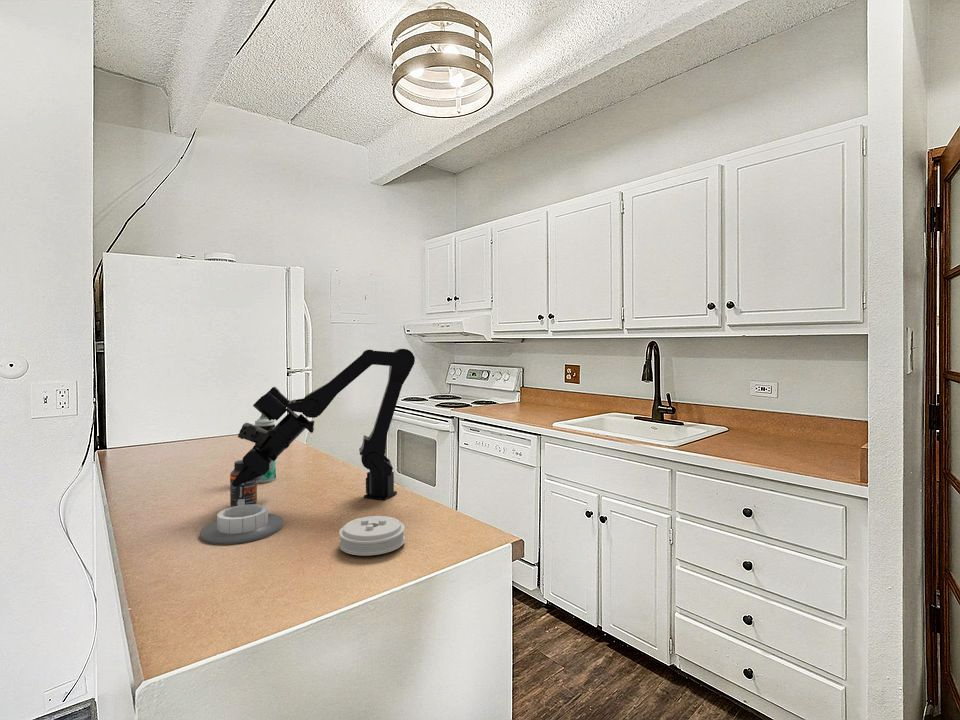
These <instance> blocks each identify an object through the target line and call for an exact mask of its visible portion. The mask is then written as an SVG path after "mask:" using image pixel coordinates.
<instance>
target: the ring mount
mask: <svg viewBox="0 0 960 720" xmlns="http://www.w3.org/2000/svg"><path fill="white" fill-rule="evenodd" d="M283 527H284V519H283V517H282V516H281V515H278V514H274V513H269V508H268V507H267V506H266V505H264V504H259V503H257V504H248V505H239V506H234V507H231V506H230V507H227V508H225V509H222V510H220V511H219V512H218V513H217V514H216V520H213V521H212V522H209V523H207V524H206V525H205V526H203V527H202V528H201V530H200V539H201V538H202V539H201V540H202V541H203V540H204V541H203V542H205V543H207V542H208V544H211V543H212V545H221V546H222V545H237V544H239V545H240V544H244V543H245V544H246V543H249V542H250V543H251V542H255V541H259V540H263V539H265V538H267V537H270V536H272V535H275V534H276V533H278V532H279V531H281V530H282V528H283Z"/></svg>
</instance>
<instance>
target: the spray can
mask: <svg viewBox="0 0 960 720" xmlns="http://www.w3.org/2000/svg"><path fill="white" fill-rule="evenodd" d="M275 421H276V420H273V419H272V420H271V421H270V420H268V419H267V418H266V417H265V416H264V415H263V414H262V413H261V415H260V416H259V418H258V419H256V420H255V421H254V425H255V426H258V427H260V428H263V429H265V430H267V431H269V430H270V429H271V428H274V427H275V426H276V423H275ZM255 444H256V443H254V445H255ZM276 460H277V459H276ZM276 460H275V461H273V460H272V466H271V468H270V469H269V470H268V471H267V472H266V473H265V474H264V475H262V476H259V477H257V483H258V484H267V483H266V482H268V483H271V482H272V481H273V482H275V481H276V480H277V466H276V465H277V463H276V462H277V461H276Z"/></svg>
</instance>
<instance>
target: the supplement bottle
mask: <svg viewBox="0 0 960 720" xmlns="http://www.w3.org/2000/svg"><path fill="white" fill-rule="evenodd" d="M233 464H234V465H233V466H234V468H233V470H232V471H231V472H230V474H229V487H230V488H229V489H230V491H229V494H230V495H229V496H230V497H229V499H230V501H229V502H230V504H229V505H230V507H234V506H239V505H248V504H258V491H257V490H258V484H257V478H255V479H252V480H250V481H248V482H245V483H243V484H241V485H239V486H237V487H234V486H232V483H233V481H234V480H235V478H236V477H237V475H238V474H239V472H240V471H241V469H242V468H243V461H242V459H241V460H235V461H234V463H233Z"/></svg>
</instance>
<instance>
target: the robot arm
mask: <svg viewBox="0 0 960 720" xmlns="http://www.w3.org/2000/svg"><path fill="white" fill-rule="evenodd" d="M415 359H416V358H415V355H414V354H413V352H412V351H411V350H409V349H408V348H407V349H406V348H398V349H395V350H394V351H387V350H385V351H383V350H373V349H366V350H364V351H363V352H362V353H361V355H359V356H358V357H357V358H356V359H355V360H354V361H351V363H350V364H348V365H347V366H346V367H345V368H344V369H343V370H342V371H340V372H339V373H338V374H337V375H336V376H335V377H333V378H332V379H331V380H330V381H329V382H327V383H325V384H323V385H322V386H320V387H318V388H316V389H315V390H313V391H311V392H310V393H308V394H306V395H305V396H304V397H303V398H298V399H292V400H289V398H288V397H286V396H285V395H284V394H283V393H282V392H281V391H280V390H279V389H278V388H277V387H276V386H272V387H271V389H269V391H267V392H266V393H265V394H263V395H262V396H260V398H258V399H257V400H256V401H255V403H254V404H253V405H252V407H253V408H255V409H256V410H257V411H258V412H259V413H261V415H262V414H263V415H264V416H265V417H266V418H267V419H268V420H270V421H271V420H272V419H273V420H275V421H278V420H279V419H280V418H281V417H282V416H283V415H285V413H286V412H287V414H286V415H285V416H284V417H283V418H282V419H281V420H280V421H278V422H277V424H275V427H274V428H271V429H270V430H269V431H267V430H265V429H263V428H260V427H258V426H255V424H252V423H249V422H244V423H243V425H242V426H241V429H240V430H239V433H238V435H237V438H239V439H241V440H246V441H249V442H251V443H254V446H253V447H252V448H251V449H250V450H249V451H248V452H247V453H246V454H245V455H244V456H242V459H241V460H242V461H243V468H242V469H241V471H240V472H239V474H238V475H237V477H236V478H235V480H234V481H233V483H232V486H234V487H237V486H239V485H241V484H243V483H245V482H248V481H250V480H252V479H255V478H257V477H259V476H262V475H264V474H265V473H266V472H267V471H268V470H269V469H270V468H271V466H272V460H273V461H275V460H277V459H278V457H279V456H280V455H281V454H282V453H283V452H284V451H285V450H287V449H288V448H289V447H290V445H291V444H292V443H293V441H295V440H296V439H297V438H298V437H299V436H300V435H301V434H302V433H303V432H304V431H305V430H307V431H308V432H309V433H311V434H312V433H314V431H315V422H316V421H315V420H309V419H310V418H311V419H313V418H318V417H319V416H321V415H322V414H323V412H324V411H326V409H327V408H328V406H330V404H331V402H333V400H334V399H335V398H336V396H337V395H338V394H339V393H340V392H341V391H343V390H344V389H345V388H346V387H347V386H349V385H350V384H351V383H353V381H354V380H355V379H357V378H358V377H359V376H361V374H363V373H364V372H365V371H366V370H368V369H369V368H370V367H371V366H374V365H376V366H386V367H388V379H387V383H386V387H385V390H384V393H383V396H382V400H381V402H380V406H379V409H378V412H377V416H376V419H375V422H374V425H373V428H372V430H371V432H370V434H369V436H367V435H363V438H362V444H361V446H360V447H359V450H358V451H359V455H360V457H361V458H360V460H361V464H362V465H363V467H364V468H365V469H367V470H369V471H367V472H366V478H365V494H364V495H363V498H365V499H371V500H372V499H374V500H382V501H386V500H387V499H389V498H392V497H393V496H395V495H397V494H398V491H397V490H395V476H394V475H395V471H393V470H394V468H393V465H392V462H391V460H390V459H389V458H388V457H387V456H386V450H387V436H388V433H389V430H390V427H391V423H392V420H393V418H394V413H395V411H396V407H397V404H398V400H399V397H400V394H401V390H402V388H403V385H404V383H405V382H406V380H407V378H408V377H409V374H410V373H411V371H412V369H413V368H414V364H415V361H416V360H415ZM297 413H300V414H299V415H298V414H297ZM308 418H309V419H308ZM255 443H256V444H255Z"/></svg>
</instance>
